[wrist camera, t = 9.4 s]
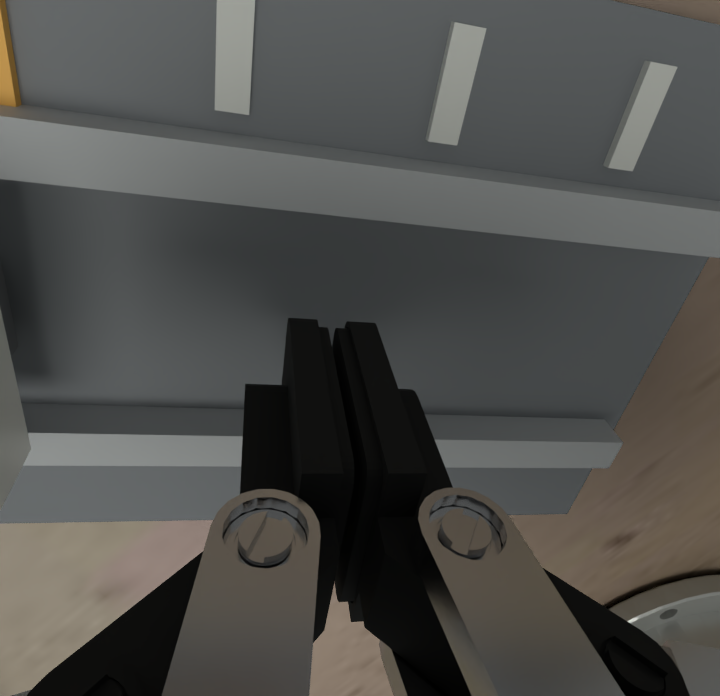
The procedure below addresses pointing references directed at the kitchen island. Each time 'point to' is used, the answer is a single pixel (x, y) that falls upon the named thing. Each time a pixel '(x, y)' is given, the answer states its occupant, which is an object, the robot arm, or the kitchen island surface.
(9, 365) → the fader knob
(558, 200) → the fader panel
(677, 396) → the kitchen island surface
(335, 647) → the kitchen island surface
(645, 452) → the kitchen island surface
